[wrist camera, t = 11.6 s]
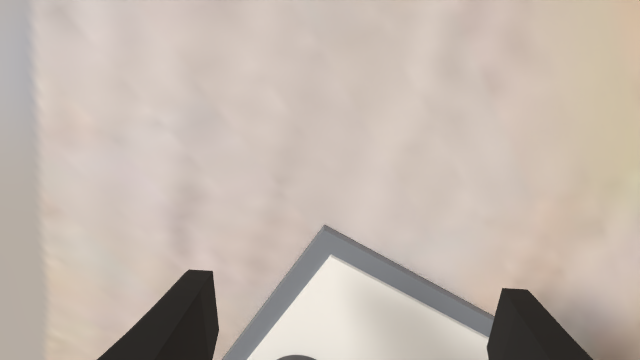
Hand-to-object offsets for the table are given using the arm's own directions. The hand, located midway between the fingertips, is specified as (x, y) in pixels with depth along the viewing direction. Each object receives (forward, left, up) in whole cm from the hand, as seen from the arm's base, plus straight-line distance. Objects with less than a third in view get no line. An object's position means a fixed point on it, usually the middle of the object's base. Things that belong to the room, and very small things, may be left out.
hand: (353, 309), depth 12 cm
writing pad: (-8, +12, -9) cm, 17 cm away
